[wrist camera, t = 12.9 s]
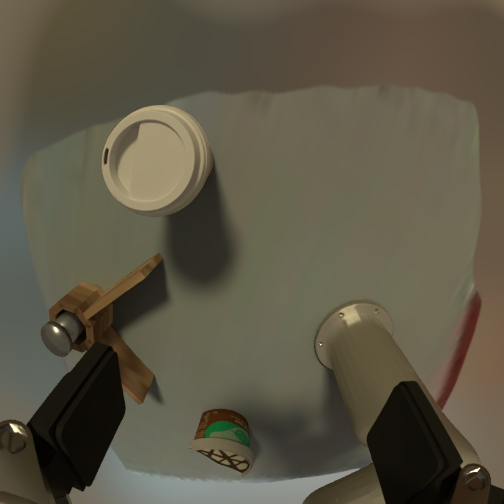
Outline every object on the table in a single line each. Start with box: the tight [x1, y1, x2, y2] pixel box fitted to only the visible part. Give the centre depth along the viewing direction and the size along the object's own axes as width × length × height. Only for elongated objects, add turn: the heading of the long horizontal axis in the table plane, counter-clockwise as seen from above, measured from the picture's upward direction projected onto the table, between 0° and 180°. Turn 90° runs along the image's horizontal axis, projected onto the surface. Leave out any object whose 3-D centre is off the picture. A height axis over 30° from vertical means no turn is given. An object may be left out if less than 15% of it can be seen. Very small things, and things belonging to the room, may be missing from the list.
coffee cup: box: [102, 105, 214, 217], centre depth 28 cm, size 10×10×15 cm
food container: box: [189, 409, 254, 477], centre depth 43 cm, size 12×6×10 cm, turn 46°
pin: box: [41, 310, 86, 357], centre depth 36 cm, size 5×5×11 cm
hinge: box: [49, 253, 163, 404], centre depth 38 cm, size 20×20×7 cm
